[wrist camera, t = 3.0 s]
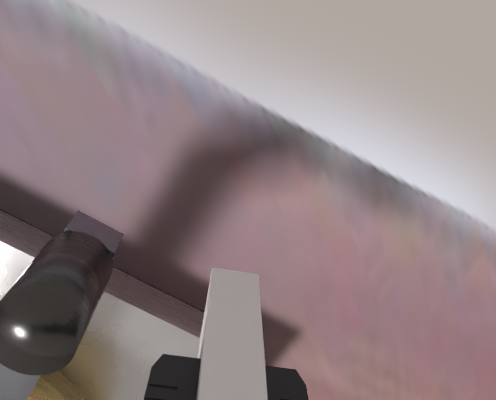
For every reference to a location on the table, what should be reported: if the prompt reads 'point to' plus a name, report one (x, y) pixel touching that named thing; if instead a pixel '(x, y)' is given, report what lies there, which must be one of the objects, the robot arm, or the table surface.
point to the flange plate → (111, 323)
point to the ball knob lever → (53, 310)
